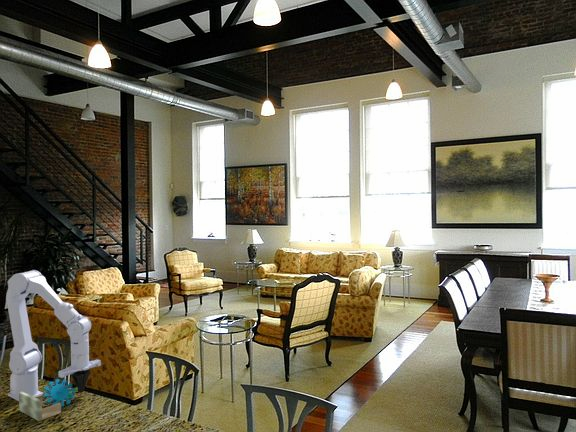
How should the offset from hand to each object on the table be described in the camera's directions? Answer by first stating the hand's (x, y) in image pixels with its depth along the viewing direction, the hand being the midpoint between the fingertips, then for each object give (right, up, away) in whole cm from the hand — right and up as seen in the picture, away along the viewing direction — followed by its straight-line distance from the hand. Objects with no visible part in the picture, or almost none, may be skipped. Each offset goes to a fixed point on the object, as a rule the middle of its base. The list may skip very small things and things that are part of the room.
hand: (80, 391), depth 161 cm
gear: (-4, -2, -5) cm, 7 cm away
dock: (-8, -2, -11) cm, 14 cm away
